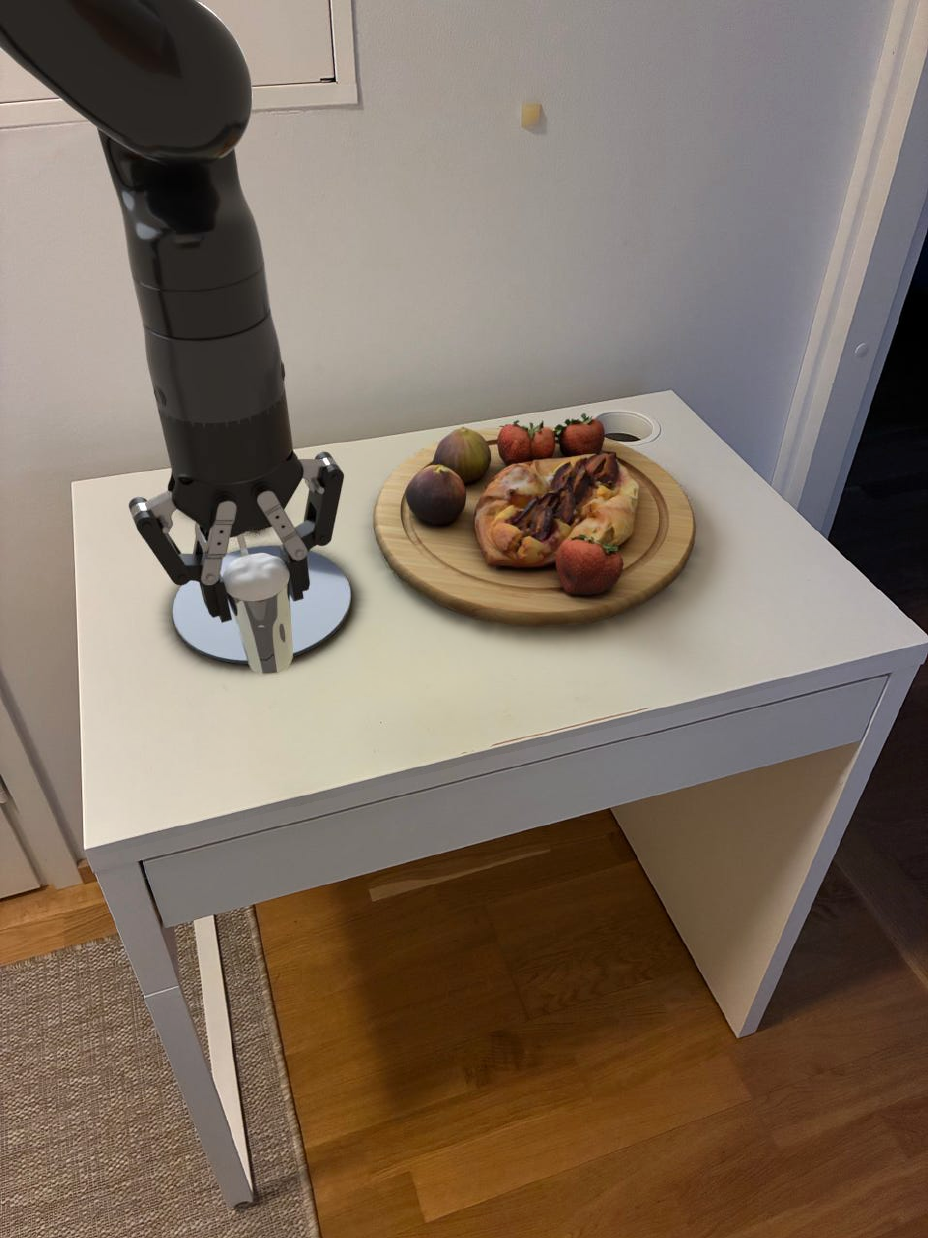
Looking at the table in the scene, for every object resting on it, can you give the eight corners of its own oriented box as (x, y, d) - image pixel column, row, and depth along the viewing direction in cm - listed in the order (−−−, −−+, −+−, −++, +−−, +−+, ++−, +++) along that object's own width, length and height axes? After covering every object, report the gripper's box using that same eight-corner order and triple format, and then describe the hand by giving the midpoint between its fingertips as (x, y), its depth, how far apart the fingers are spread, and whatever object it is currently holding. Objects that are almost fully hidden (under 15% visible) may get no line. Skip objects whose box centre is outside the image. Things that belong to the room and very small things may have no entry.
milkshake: (286, 626, 74) (270, 520, 67) (310, 670, 70) (295, 564, 64) (228, 643, 72) (206, 537, 66) (249, 690, 69) (228, 583, 62)
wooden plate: (731, 627, 86) (750, 554, 80) (373, 641, 84) (367, 567, 78) (655, 437, 109) (665, 371, 104) (374, 445, 108) (370, 378, 102)
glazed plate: (198, 688, 80) (197, 683, 79) (155, 577, 90) (154, 572, 90) (377, 632, 85) (377, 627, 84) (317, 533, 95) (317, 528, 95)
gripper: (314, 336, 61) (336, 548, 73) (84, 382, 57) (146, 601, 68) (356, 388, 56) (373, 607, 68) (107, 444, 52) (170, 668, 63)
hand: (259, 603), depth 68 cm, fingers closed on milkshake, 4 cm apart
